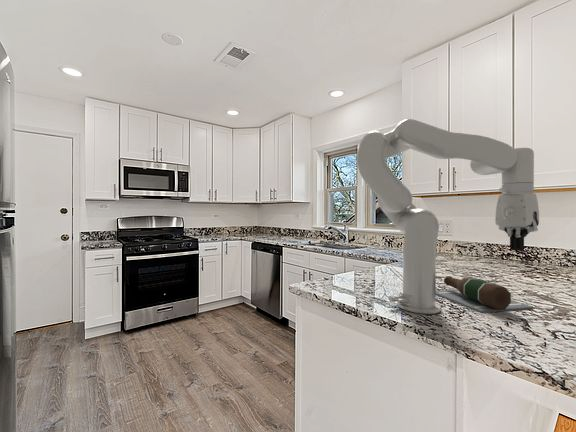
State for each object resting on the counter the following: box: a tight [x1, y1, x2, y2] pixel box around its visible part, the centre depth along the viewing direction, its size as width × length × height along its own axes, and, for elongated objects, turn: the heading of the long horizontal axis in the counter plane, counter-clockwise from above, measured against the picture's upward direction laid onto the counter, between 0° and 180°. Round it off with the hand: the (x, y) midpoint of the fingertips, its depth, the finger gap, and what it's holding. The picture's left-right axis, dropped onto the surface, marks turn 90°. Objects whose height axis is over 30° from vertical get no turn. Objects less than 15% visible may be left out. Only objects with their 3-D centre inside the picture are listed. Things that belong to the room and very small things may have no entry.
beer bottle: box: [443, 276, 512, 310], centre depth 98 cm, size 8×8×24 cm
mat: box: [435, 289, 534, 314], centre depth 99 cm, size 20×22×1 cm
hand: (516, 250), depth 85 cm, fingers closed
